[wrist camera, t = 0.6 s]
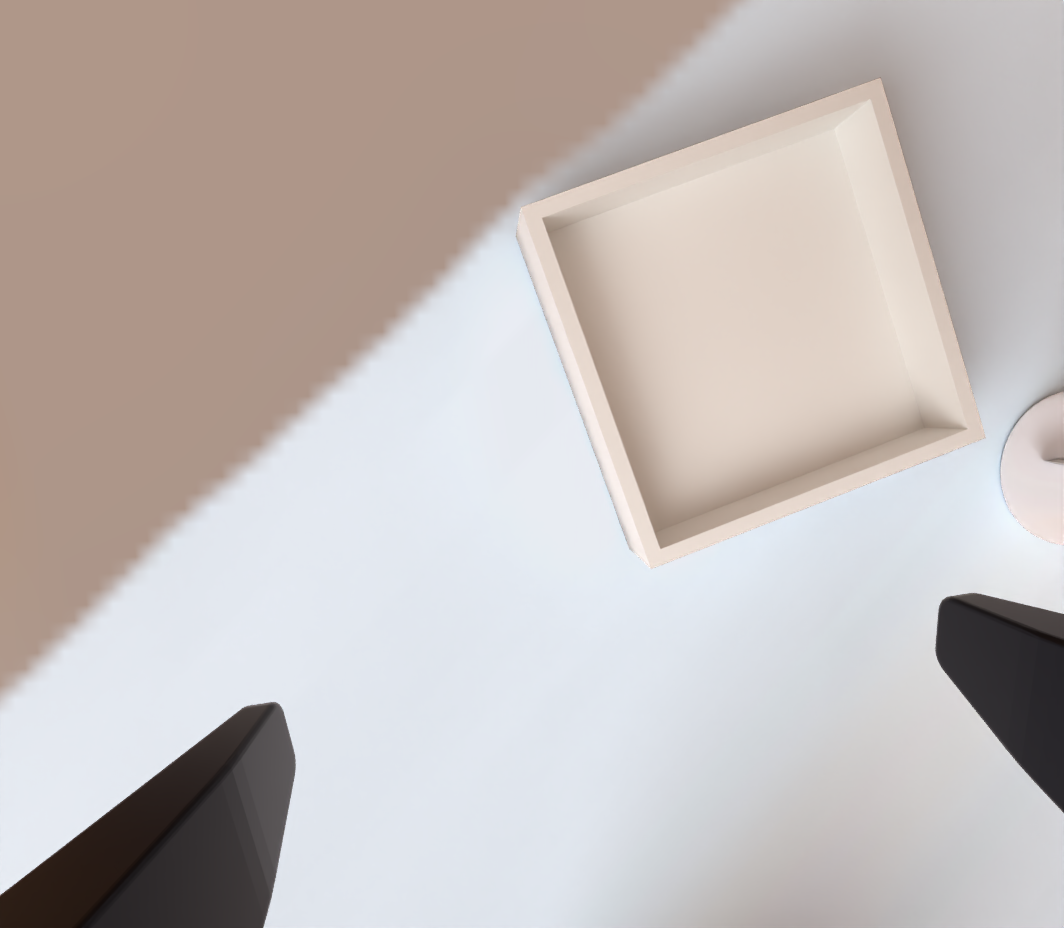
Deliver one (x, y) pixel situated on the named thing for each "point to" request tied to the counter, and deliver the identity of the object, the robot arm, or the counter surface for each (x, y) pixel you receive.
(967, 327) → the counter surface
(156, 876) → the robot arm
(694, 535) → the tray
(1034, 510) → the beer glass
